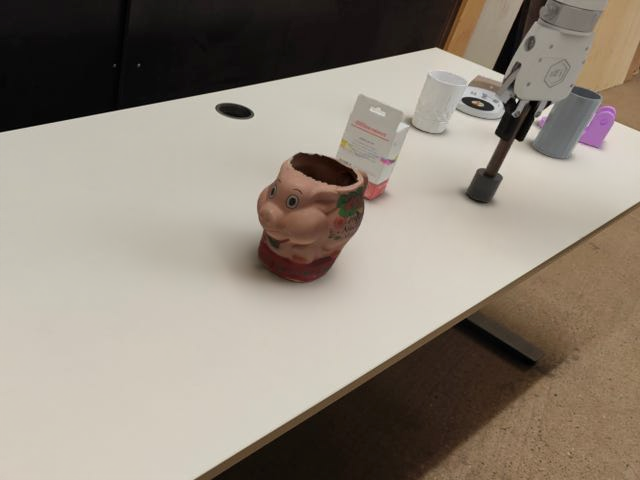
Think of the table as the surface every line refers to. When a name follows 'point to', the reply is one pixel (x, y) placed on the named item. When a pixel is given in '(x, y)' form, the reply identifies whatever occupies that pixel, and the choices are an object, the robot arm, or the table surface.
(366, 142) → the ink cartridge box
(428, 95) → the white cup
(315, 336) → the table surface
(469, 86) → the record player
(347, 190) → the decorative planter
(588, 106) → the grey cylindrical holder
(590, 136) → the bracket
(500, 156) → the brush
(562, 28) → the robot arm
